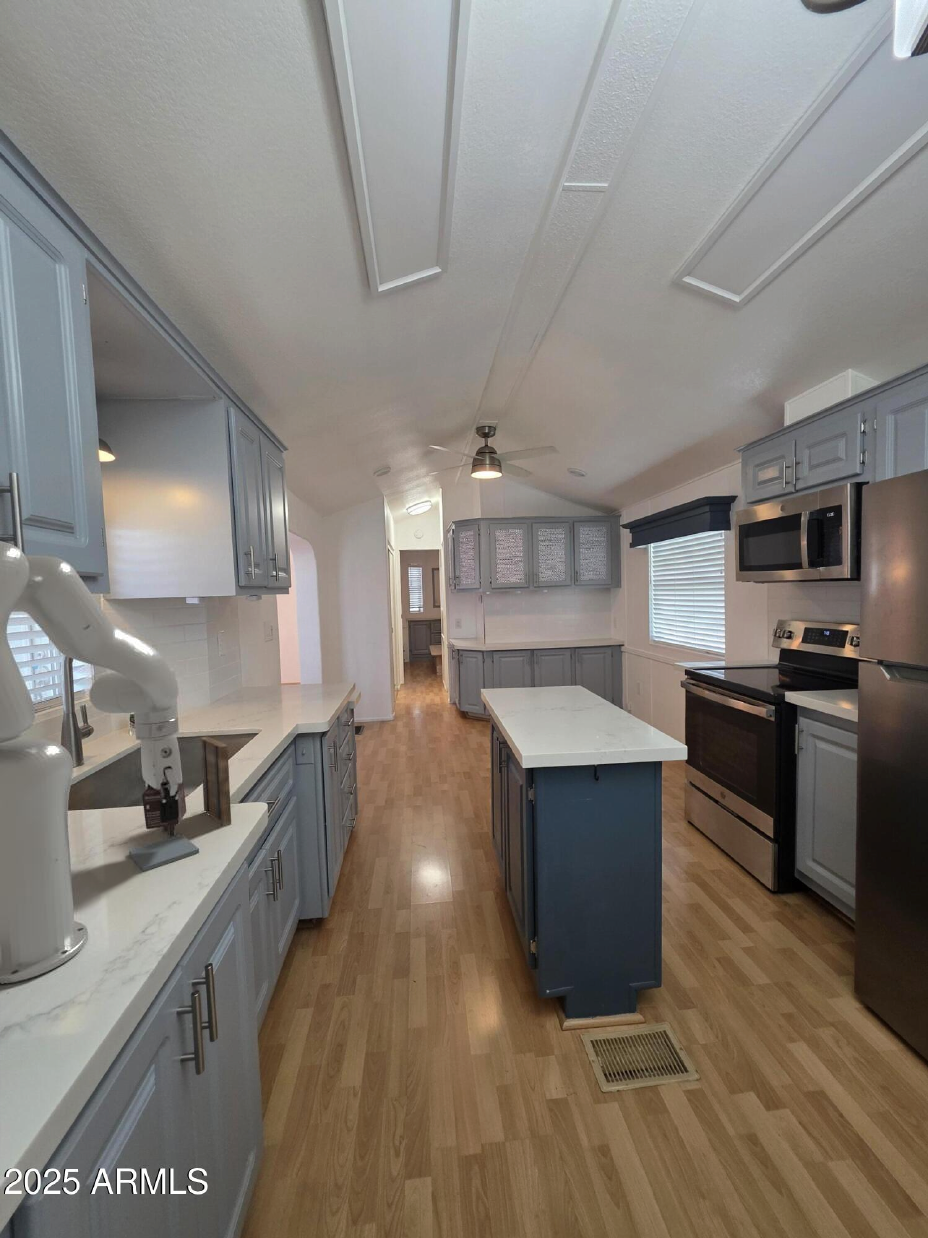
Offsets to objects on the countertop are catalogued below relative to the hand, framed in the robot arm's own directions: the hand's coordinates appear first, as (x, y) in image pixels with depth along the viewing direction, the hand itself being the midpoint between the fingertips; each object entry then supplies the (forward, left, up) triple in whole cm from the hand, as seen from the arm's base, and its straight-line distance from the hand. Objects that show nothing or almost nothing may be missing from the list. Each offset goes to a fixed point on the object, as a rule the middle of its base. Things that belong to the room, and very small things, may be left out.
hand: (162, 813), depth 109 cm
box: (+1, 0, -2) cm, 2 cm away
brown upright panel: (+9, +10, -8) cm, 16 cm away
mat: (0, 0, -8) cm, 8 cm away
